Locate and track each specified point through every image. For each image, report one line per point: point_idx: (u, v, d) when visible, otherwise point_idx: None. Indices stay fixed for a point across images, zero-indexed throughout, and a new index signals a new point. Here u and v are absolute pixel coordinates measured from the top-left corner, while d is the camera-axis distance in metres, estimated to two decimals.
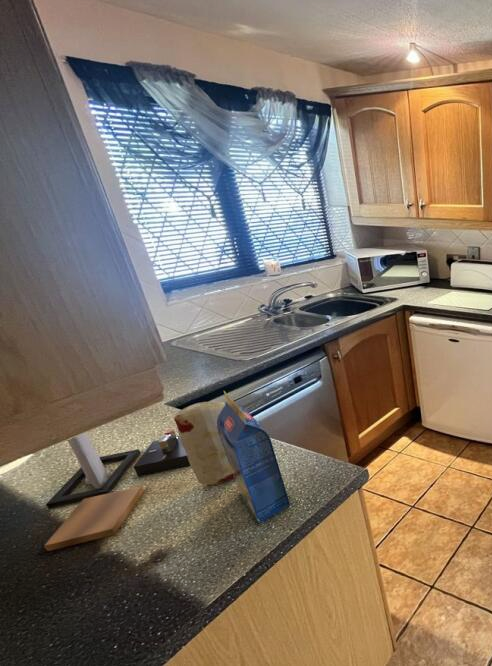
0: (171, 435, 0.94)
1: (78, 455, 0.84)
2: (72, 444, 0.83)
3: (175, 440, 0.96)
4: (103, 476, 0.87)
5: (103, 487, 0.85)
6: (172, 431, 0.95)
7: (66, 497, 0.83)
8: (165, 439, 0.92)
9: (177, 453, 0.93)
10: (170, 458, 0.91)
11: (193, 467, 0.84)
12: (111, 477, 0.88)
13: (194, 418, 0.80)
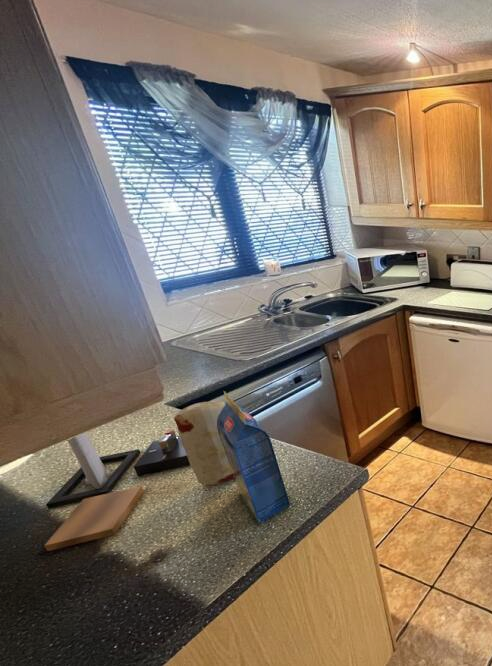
0: (171, 435, 0.94)
1: (78, 456, 0.84)
2: (72, 444, 0.83)
3: (175, 440, 0.96)
4: (103, 476, 0.87)
5: (103, 487, 0.85)
6: (172, 431, 0.95)
7: (66, 497, 0.83)
8: (165, 439, 0.92)
9: (177, 453, 0.93)
10: (170, 458, 0.91)
11: (193, 467, 0.84)
12: (111, 477, 0.88)
13: (194, 418, 0.80)
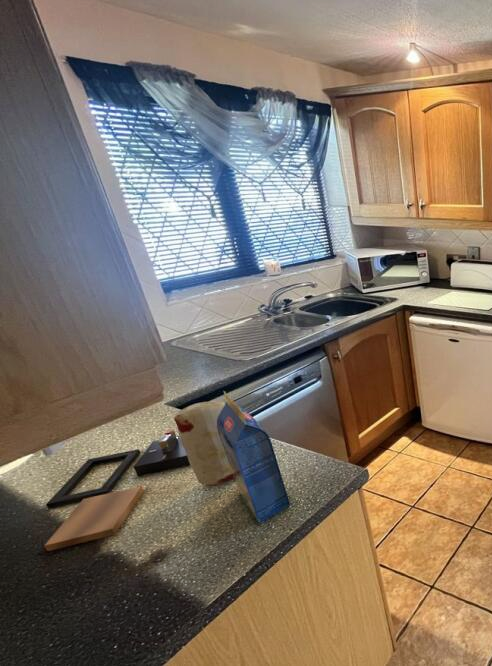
0: (171, 435, 0.94)
1: None
2: None
3: (175, 440, 0.96)
4: None
5: (103, 487, 0.85)
6: (172, 431, 0.95)
7: (66, 497, 0.83)
8: (165, 439, 0.92)
9: (177, 453, 0.93)
10: (170, 458, 0.91)
11: (193, 467, 0.84)
12: (111, 477, 0.88)
13: (194, 418, 0.80)
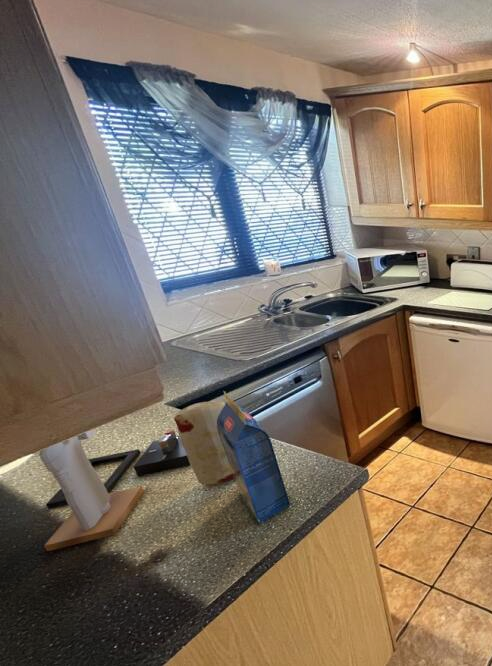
0: (171, 435, 0.94)
1: None
2: None
3: (175, 440, 0.96)
4: (90, 517, 0.75)
5: None
6: (172, 431, 0.95)
7: None
8: (165, 439, 0.92)
9: (177, 453, 0.93)
10: (170, 458, 0.91)
11: (193, 467, 0.84)
12: (111, 477, 0.88)
13: (194, 418, 0.80)
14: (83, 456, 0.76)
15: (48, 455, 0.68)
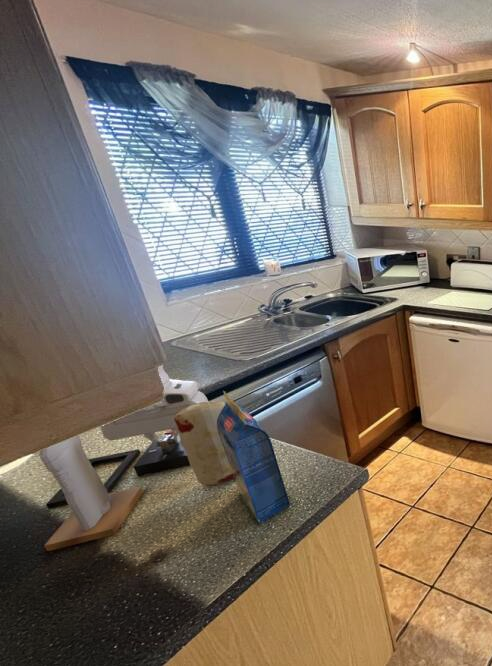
0: (171, 435, 0.94)
1: None
2: None
3: None
4: (90, 517, 0.75)
5: None
6: None
7: None
8: (165, 439, 0.92)
9: (177, 453, 0.93)
10: (170, 458, 0.91)
11: (193, 467, 0.84)
12: (111, 477, 0.88)
13: (194, 418, 0.80)
14: (83, 456, 0.76)
15: (48, 455, 0.68)
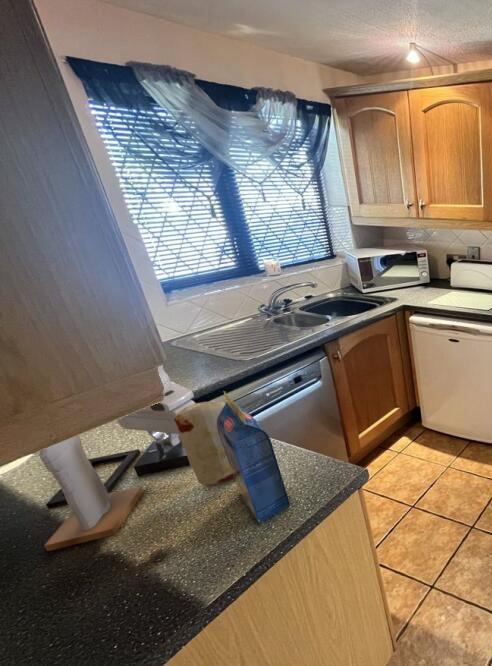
0: None
1: None
2: None
3: None
4: (90, 517, 0.75)
5: None
6: None
7: None
8: (161, 440, 0.92)
9: (177, 453, 0.93)
10: (170, 458, 0.91)
11: (193, 467, 0.84)
12: (111, 477, 0.88)
13: (194, 418, 0.80)
14: (83, 456, 0.76)
15: (48, 455, 0.68)
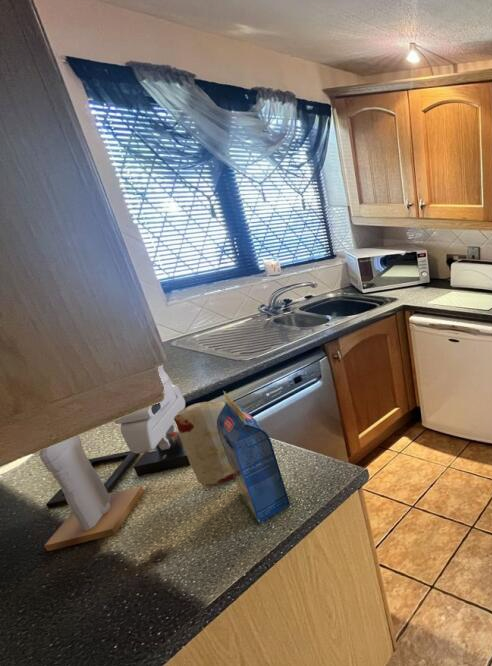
0: (167, 438, 0.93)
1: None
2: None
3: (174, 444, 0.94)
4: (90, 517, 0.75)
5: None
6: (173, 436, 0.93)
7: None
8: None
9: (177, 453, 0.93)
10: (170, 458, 0.91)
11: (193, 467, 0.84)
12: (111, 477, 0.88)
13: (194, 418, 0.80)
14: (83, 456, 0.76)
15: (48, 455, 0.68)
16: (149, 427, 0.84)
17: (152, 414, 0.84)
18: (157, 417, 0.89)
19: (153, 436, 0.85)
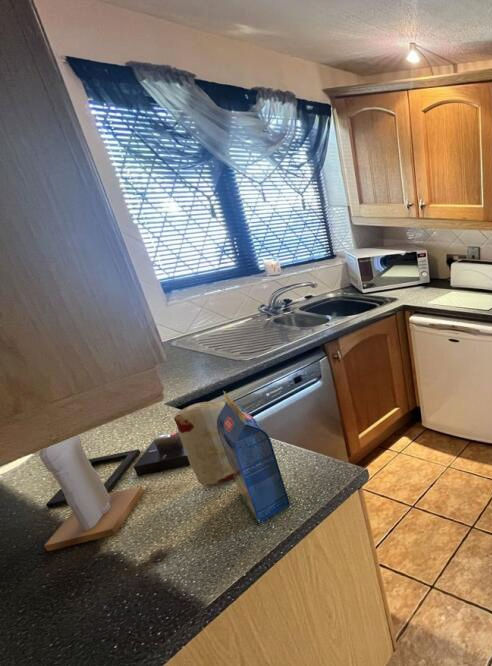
0: (167, 438, 0.93)
1: None
2: None
3: (174, 444, 0.94)
4: (90, 517, 0.75)
5: None
6: (173, 436, 0.93)
7: None
8: (157, 438, 0.93)
9: (177, 453, 0.93)
10: (170, 458, 0.91)
11: (193, 467, 0.84)
12: (111, 477, 0.88)
13: (194, 418, 0.80)
14: (83, 456, 0.76)
15: (48, 455, 0.68)
16: None
17: None
18: None
19: None
